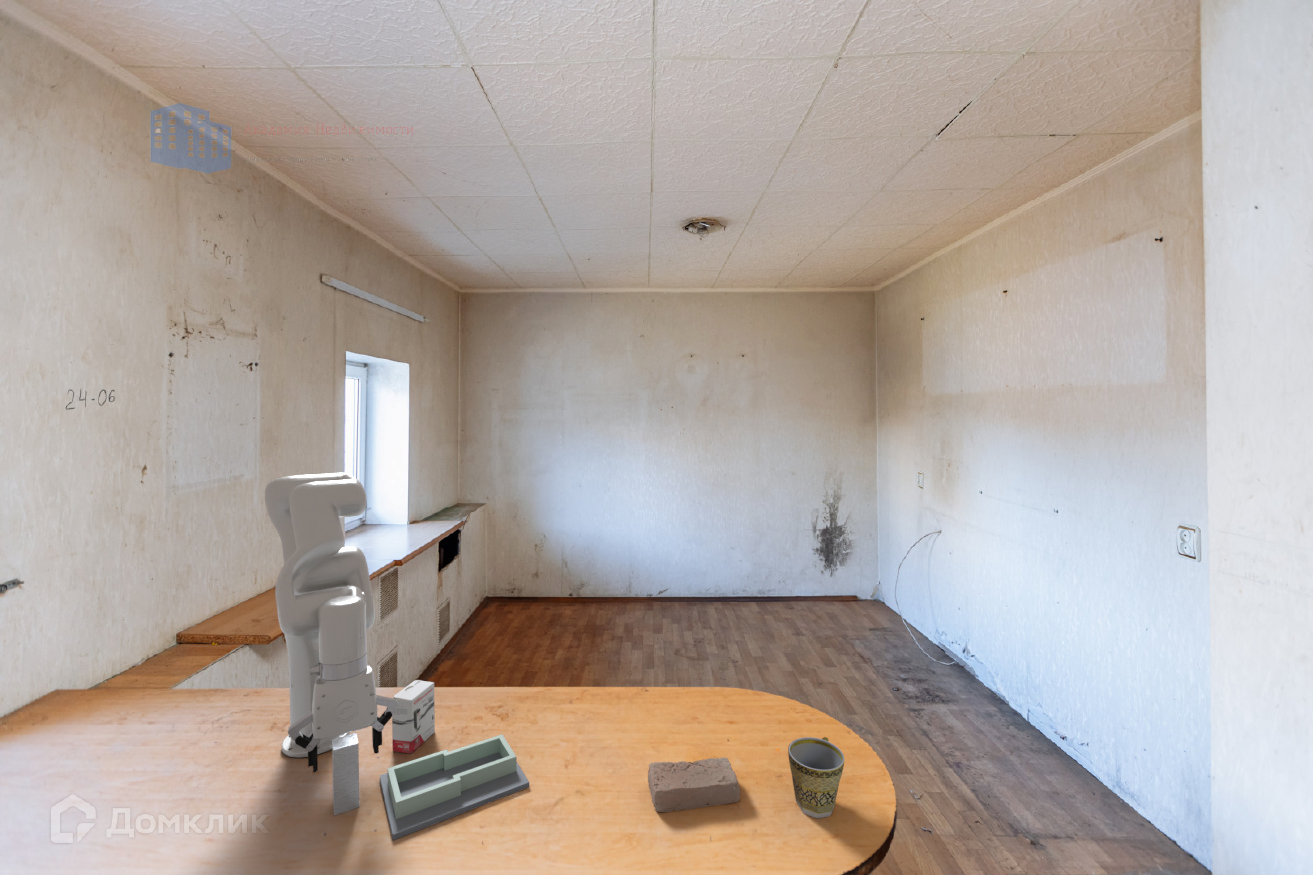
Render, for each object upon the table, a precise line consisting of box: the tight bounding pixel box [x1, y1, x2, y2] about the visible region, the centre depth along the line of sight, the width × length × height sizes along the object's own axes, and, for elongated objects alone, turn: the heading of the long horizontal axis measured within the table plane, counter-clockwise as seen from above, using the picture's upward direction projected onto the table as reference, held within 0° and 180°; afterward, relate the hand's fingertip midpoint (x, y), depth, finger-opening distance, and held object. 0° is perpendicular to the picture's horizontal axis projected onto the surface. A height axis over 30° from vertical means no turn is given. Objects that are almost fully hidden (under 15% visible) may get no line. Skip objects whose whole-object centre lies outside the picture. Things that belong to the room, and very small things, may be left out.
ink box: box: [391, 679, 436, 754], centre depth 119 cm, size 9×5×12 cm, turn 168°
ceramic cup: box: [787, 736, 845, 819], centre depth 101 cm, size 13×10×10 cm
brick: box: [647, 757, 741, 813], centre depth 103 cm, size 16×8×5 cm, turn 100°
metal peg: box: [331, 732, 360, 816], centre depth 99 cm, size 4×4×12 cm
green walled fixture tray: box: [379, 733, 530, 841], centre depth 105 cm, size 18×24×4 cm
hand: (346, 758), depth 99 cm, fingers open, 9 cm apart
